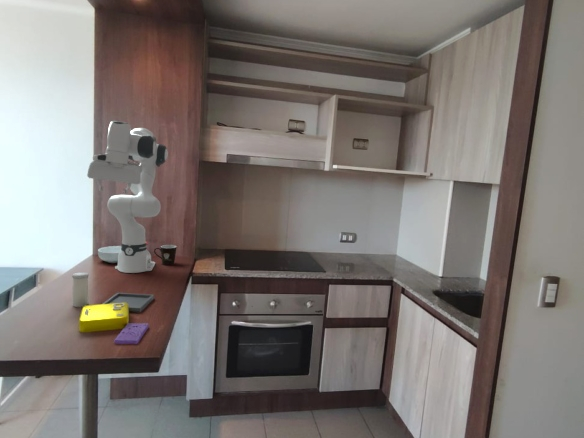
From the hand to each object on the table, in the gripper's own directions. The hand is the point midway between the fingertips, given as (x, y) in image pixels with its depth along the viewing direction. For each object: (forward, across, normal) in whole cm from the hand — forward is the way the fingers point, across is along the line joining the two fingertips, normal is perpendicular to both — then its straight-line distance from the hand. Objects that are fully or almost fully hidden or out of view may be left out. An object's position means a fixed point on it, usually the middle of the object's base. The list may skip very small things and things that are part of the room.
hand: (113, 192), depth 156 cm
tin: (+45, +8, +10) cm, 47 cm away
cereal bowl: (+38, -11, -54) cm, 67 cm away
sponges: (+47, -5, +44) cm, 65 cm away
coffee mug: (+37, -36, -41) cm, 66 cm away
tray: (+44, -8, +16) cm, 47 cm away
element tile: (+46, +2, +30) cm, 55 cm away
